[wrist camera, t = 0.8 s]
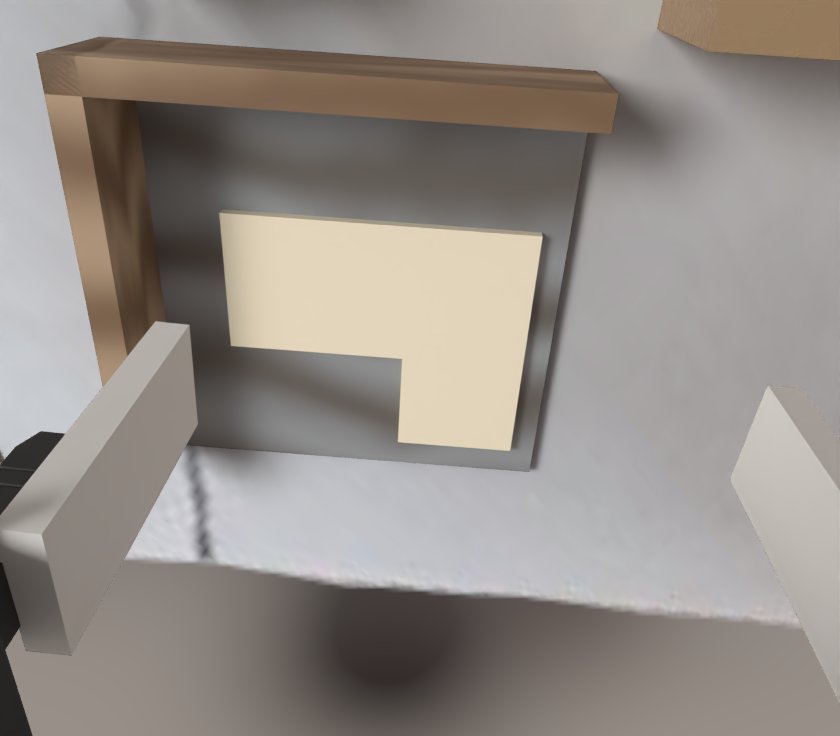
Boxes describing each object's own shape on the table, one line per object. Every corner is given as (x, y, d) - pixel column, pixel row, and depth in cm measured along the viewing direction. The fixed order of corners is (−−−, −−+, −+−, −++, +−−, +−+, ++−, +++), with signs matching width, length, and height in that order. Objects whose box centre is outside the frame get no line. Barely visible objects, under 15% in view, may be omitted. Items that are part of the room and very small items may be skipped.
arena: (99, 36, 35) (36, 53, 30) (595, 71, 34) (618, 93, 29) (162, 437, 47) (124, 498, 42) (528, 466, 47) (536, 531, 42)
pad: (222, 209, 38) (219, 212, 38) (541, 232, 38) (542, 236, 38) (240, 424, 46) (238, 429, 45) (509, 445, 45) (510, 450, 45)
